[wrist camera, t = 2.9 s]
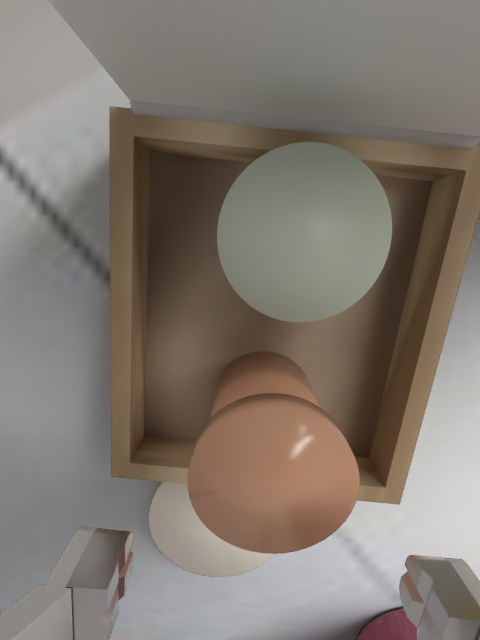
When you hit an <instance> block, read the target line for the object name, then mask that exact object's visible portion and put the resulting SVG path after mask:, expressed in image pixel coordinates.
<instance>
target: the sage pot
mask: <svg viewBox="0 0 480 640" xmlns="http://www.w3.org/2000/svg"><path fill="white" fill-rule="evenodd" d="M391 238H392V218H391V210H390V206H389V202H388V199H387V196H386V194H385V191H384V189H383V187H382V185H381V184H380V182H379V180H378V178H377V177H376V176H375V175H374V173H373V172H372V171H371V169H370V168H369V167H368V166H367V165H366V164H364V163H363V162H362V161H361V160H360V159H359V158H357V157H356V156H354V155H353V154H351V153H349V152H347V151H345V150H344V149H342V148H339V147H336V146H333V145H330V144H325V143H319V142H300V143H292V144H289V145H285V146H281V147H279V148H276V149H274V150H271V151H269V152H267V153H266V154H264V155H262V156H261V157H259V158H258V159H256V160H255V161H254V162H253V163H251V164H250V165H249V166H248V167H247V168H246V169H245V170H244V171H243V172H242V173H241V174H240V175H239V177H238V178H237V179H236V181H235V182H234V183H233V185H232V186H231V188H230V190H229V192H228V193H227V195H226V198H225V200H224V203H223V205H222V208H221V212H220V215H219V220H218V227H217V246H218V254H219V258H220V262H221V265H222V268H223V270H224V273H225V275H226V277H227V279H228V281H229V283H230V284H231V286H232V287H233V288H234V290H235V291H236V293H237V294H238V295H239V296H240V297H241V298H242V299H243V300H244V301H245V302H246V303H247V304H249V305H250V306H251V307H252V308H254V309H256V310H257V311H259V312H261V313H262V314H265V315H267V316H269V317H271V318H275V319H278V320H282V321H288V322H301V323H303V322H314V321H318V320H323V319H326V318H329V317H332V316H334V315H336V314H338V313H340V312H342V311H344V310H346V309H347V308H349V307H350V306H352V305H354V304H355V303H356V302H357V301H358V300H359V299H361V298H362V297H363V296H364V295H365V294H366V293H367V291H368V290H369V289H370V288H371V287H372V285H373V284H374V283H375V281H376V280H377V278H378V276H379V275H380V273H381V271H382V269H383V267H384V265H385V262H386V260H387V257H388V253H389V249H390V245H391Z"/></svg>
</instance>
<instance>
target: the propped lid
mask: <svg viewBox="0 0 480 640" xmlns="http://www.w3.org/2000/svg"><path fill="white" fill-rule="evenodd" d="M49 1H50V2H51V4H52V5H53V6H54V7H55V9H56V10H57V11H58V12H59V13H60V15H61V16H62V17H63V18H64V20H65V21H66V22H67V23H68V24H69V26H70V27H71V28H72V29H73V31H74V32H75V33H76V34H77V35H78V37H79V38H80V39H81V40H82V42H83V43H84V44H85V45H86V46H87V48H88V49H89V50H90V51H91V52H92V54H93V55H94V56H95V58H96V59H97V60H98V61H99V62H100V64H101V65H102V66H103V67H104V69H105V70H106V71H107V72H108V73H109V75H110V76H111V77H112V78H113V80H114V81H115V82H116V83H117V84H118V86H119V87H120V88H121V89H122V91H123V92H124V93H125V94H126V96H127V97H128V98H129V99H130V100H131V108H132V112H133V114H135V115H145V116H154V117H164V118H174V119H183V120H193V121H203V122H213V123H222V124H232V125H242V126H251V127H261V128H271V129H280V130H290V131H300V132H309V133H319V134H329V135H338V136H348V137H358V138H368V139H377V140H387V141H397V142H406V143H416V144H426V145H435V146H445V147H455V148H464V149H473V148H475V147H476V145H477V144H478V143H479V141H480V0H49Z"/></svg>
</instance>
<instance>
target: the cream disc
mask: <svg viewBox="0 0 480 640" xmlns="http://www.w3.org/2000/svg"><path fill="white" fill-rule="evenodd" d="M148 519H149V529H150V533H151V536H152V538H153V540H154V542H155V544H156V546H157V547H158V549H159V550H160V551H161V552H162V553H163V554H164V556H165V557H166V558H168V559H169V560H170V561H171V562H173V563H174V564H176V565H177V566H179V567H181V568H183V569H185V570H187V571H190V572H193V573H196V574H200V575H204V576H211V577H228V576H234V575H239V574H242V573H246V572H248V571H251V570H253V569H255V568H257V567H259V566H260V565H261V564H263V563H264V562H266V561H267V560H268V559H269V558H270V557H271V556H272V555H273V554H268V553H258V552H252V551H248V550H244V549H241V548H238V547H236V546H233V545H231V544H229V543H227V542H225V541H223V540H222V539H220V538H219V537H217V536H216V535H215V534H213V533H212V532H211V531H210V530H209V529H208V528H207V527H206V526H205V525H204V524H203V523H202V522H201V520H200V519H199V517H198V516H197V514H196V513H195V511H194V509H193V507H192V504H191V501H190V498H189V493H188V484H182V483H171V482H161V484H160V485H159V487H158V488H157V490H156V493H155V495H154V498H153V500H152V503H151V507H150V510H149V518H148Z"/></svg>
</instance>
